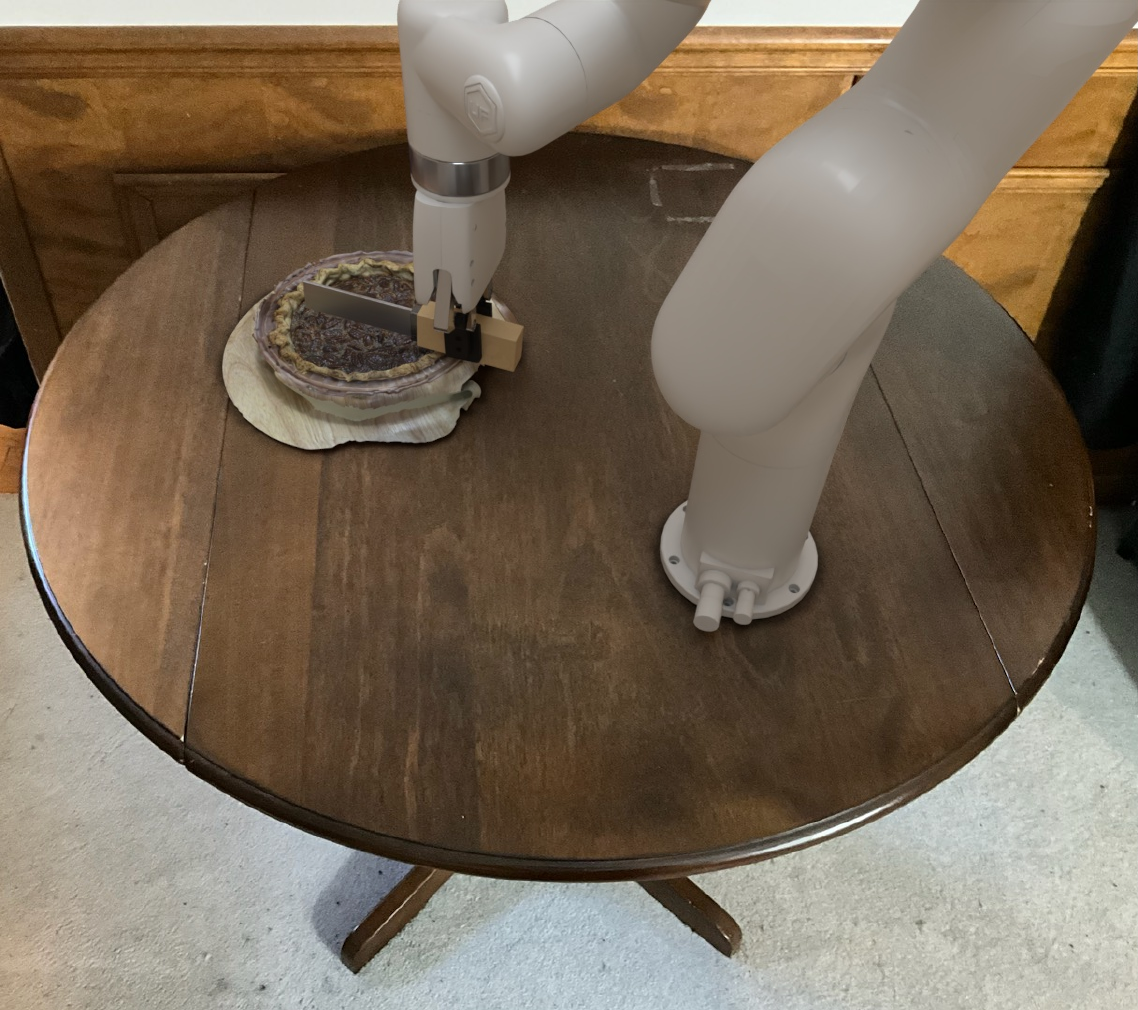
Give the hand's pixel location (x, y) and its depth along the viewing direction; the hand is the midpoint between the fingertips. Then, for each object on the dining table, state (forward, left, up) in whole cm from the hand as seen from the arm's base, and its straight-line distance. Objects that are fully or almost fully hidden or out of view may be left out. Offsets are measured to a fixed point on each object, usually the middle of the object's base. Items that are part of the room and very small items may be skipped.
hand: (469, 346), depth 92 cm
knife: (0, +5, 0) cm, 5 cm away
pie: (+3, +11, -6) cm, 12 cm away
